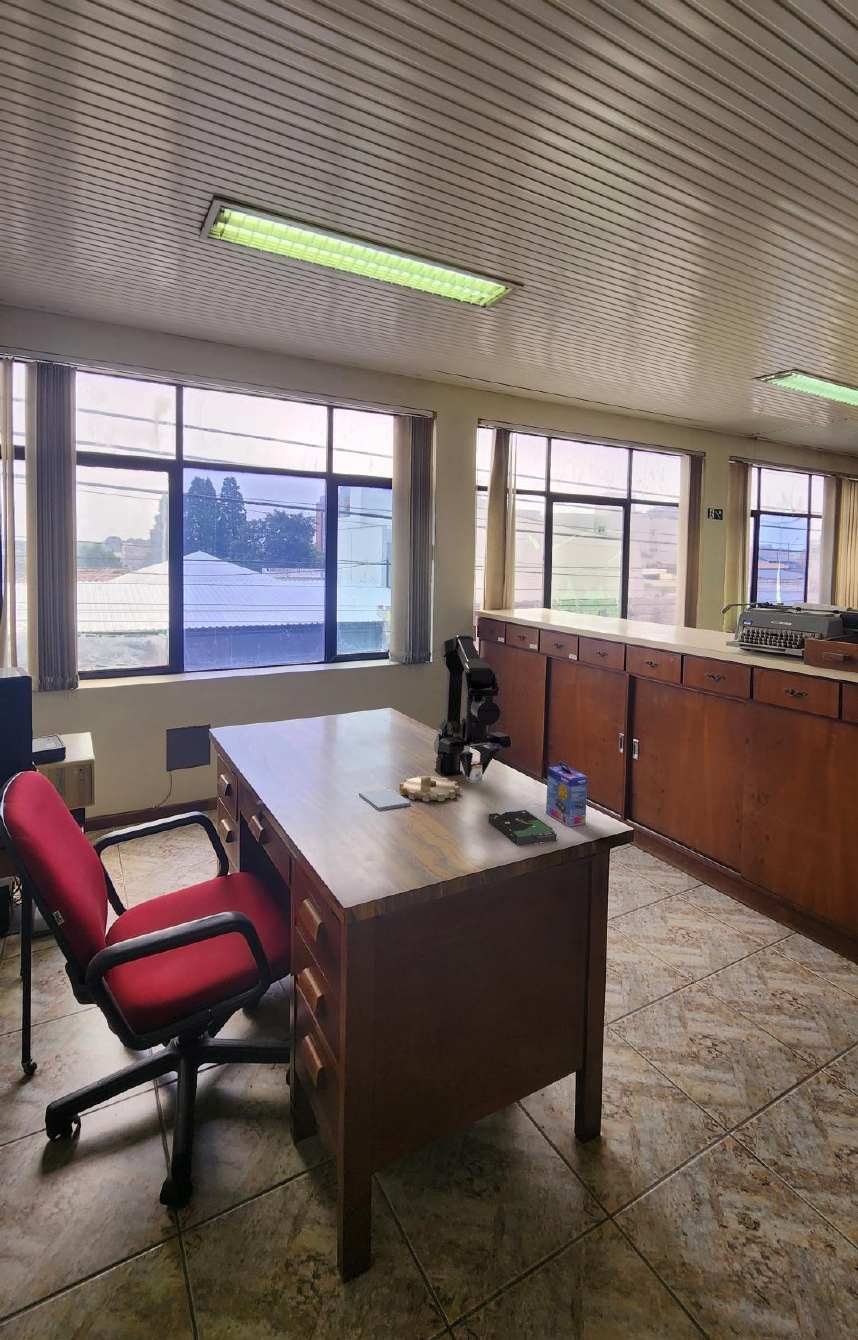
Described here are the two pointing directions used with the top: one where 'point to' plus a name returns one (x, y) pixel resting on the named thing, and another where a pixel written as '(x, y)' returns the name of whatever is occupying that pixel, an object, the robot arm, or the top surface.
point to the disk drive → (522, 827)
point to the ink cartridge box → (566, 795)
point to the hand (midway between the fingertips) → (474, 775)
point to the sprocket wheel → (429, 788)
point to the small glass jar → (475, 772)
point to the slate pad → (384, 799)
